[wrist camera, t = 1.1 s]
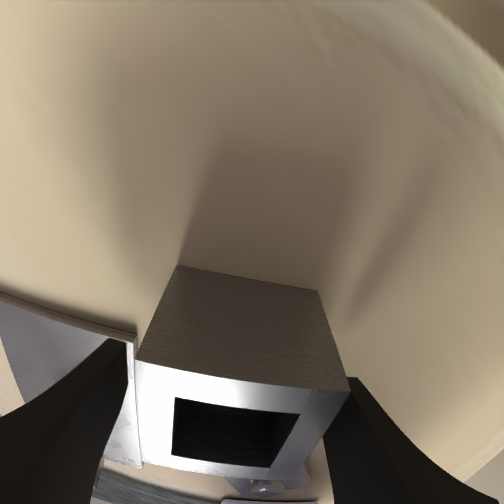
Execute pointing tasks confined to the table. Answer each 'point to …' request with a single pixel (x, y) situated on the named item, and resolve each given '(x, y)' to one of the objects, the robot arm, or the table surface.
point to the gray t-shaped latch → (271, 484)
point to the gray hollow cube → (236, 377)
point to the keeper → (66, 364)
